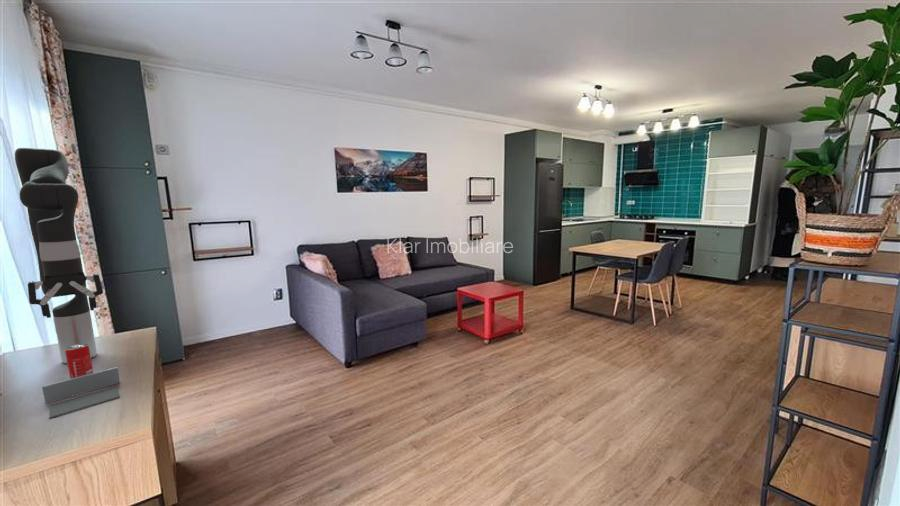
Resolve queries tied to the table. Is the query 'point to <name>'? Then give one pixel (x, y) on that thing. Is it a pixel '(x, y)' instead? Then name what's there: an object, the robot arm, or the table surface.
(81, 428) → the table surface
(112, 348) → the table surface
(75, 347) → the beverage can
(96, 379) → the low wall
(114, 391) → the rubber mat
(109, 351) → the table surface
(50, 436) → the table surface
